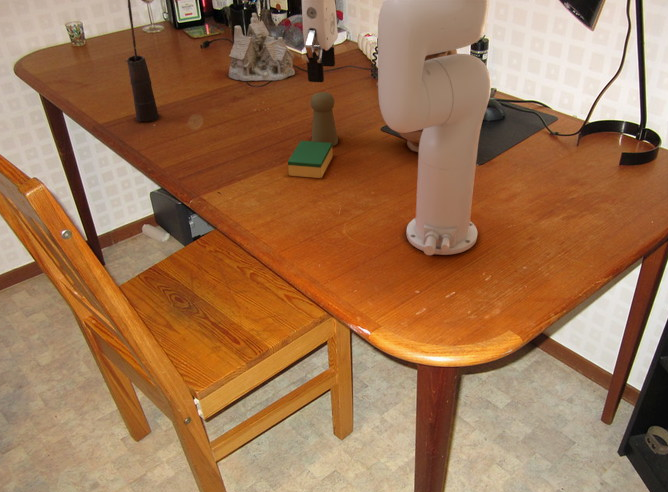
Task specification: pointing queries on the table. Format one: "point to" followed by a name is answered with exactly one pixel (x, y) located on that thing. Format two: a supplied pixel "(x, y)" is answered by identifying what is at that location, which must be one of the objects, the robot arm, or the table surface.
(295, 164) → the sponge
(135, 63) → the butter churn
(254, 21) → the ceramic cottage
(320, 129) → the pawn
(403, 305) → the table surface
